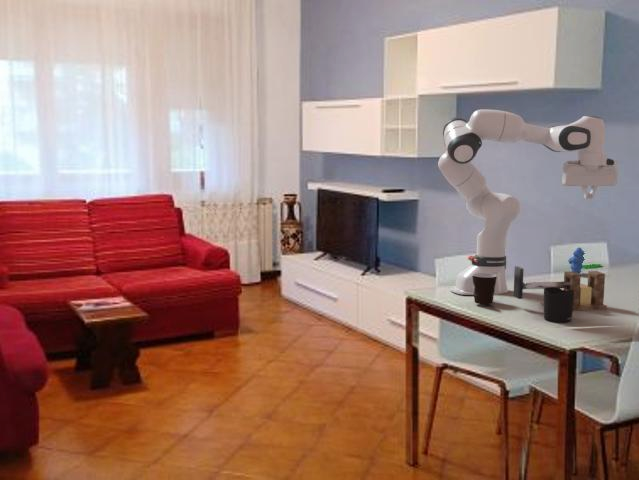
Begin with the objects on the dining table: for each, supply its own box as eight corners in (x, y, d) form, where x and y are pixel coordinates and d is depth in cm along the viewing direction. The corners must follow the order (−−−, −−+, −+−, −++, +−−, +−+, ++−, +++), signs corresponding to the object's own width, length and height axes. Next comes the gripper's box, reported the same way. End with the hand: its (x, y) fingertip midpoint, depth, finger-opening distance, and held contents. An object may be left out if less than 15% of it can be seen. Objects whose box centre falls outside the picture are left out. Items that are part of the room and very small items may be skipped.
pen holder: (549, 323, 230) (551, 293, 228) (538, 316, 239) (539, 287, 238) (577, 323, 231) (579, 292, 229) (565, 316, 240) (566, 286, 239)
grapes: (571, 271, 323) (573, 245, 321) (587, 273, 319) (588, 246, 317) (562, 275, 314) (563, 248, 312) (578, 277, 310) (579, 249, 308)
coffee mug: (491, 306, 254) (492, 278, 253) (467, 303, 259) (468, 275, 258) (501, 300, 264) (502, 273, 263) (479, 297, 269) (479, 271, 267)
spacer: (579, 305, 250) (580, 287, 249) (571, 301, 256) (572, 284, 256) (590, 305, 251) (591, 287, 250) (581, 301, 257) (582, 283, 256)
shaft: (519, 298, 248) (520, 268, 246) (513, 295, 252) (514, 266, 251) (573, 297, 250) (574, 267, 249) (566, 294, 255) (568, 265, 254)
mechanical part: (583, 270, 329) (584, 252, 328) (574, 267, 335) (575, 250, 334) (603, 268, 334) (604, 251, 333) (594, 266, 339) (595, 249, 338)
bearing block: (552, 310, 248) (553, 275, 246) (540, 304, 256) (542, 271, 255) (606, 309, 250) (608, 274, 249) (593, 303, 259) (595, 270, 257)
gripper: (567, 160, 259) (565, 199, 261) (620, 161, 262) (618, 198, 264) (559, 160, 266) (558, 197, 267) (611, 160, 268) (609, 197, 270)
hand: (588, 198), depth 266 cm, fingers closed
